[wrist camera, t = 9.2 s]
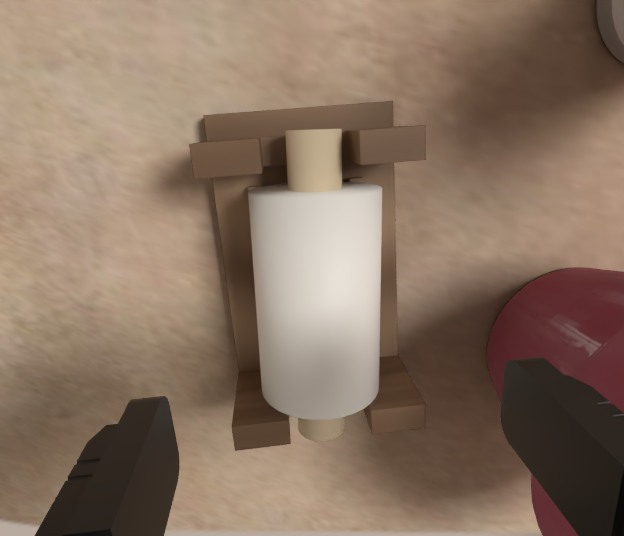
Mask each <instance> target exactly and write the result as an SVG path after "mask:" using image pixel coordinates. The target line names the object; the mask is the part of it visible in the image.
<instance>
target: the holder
mask: <svg viewBox="0 0 624 536" xmlns="http://www.w3.org/2000/svg"><path fill="white" fill-rule="evenodd" d="M203 116H204V124H205V131H206V138H207V142H200V143H193V144H189V147H190V153H191V160H192V167H193V173H194V179H201V178H212V181H213V188H214V196H215V203H216V210H217V217H218V225H219V232H220V239H221V246H222V253H223V261H224V268H225V275H226V282H227V289H228V297H229V304H230V311H231V318H232V325H233V333H234V340H235V347H236V354H237V362H238V369H239V377H238V384H237V391H236V399H235V406H234V413H233V421H232V433H233V439H234V446H235V451H236V450H244V449H253V448H261V447H269V446H278V445H286V444H291V443H290V426H289V415H287V414H284V413H282V412H280V411H278V410H276V409H275V408H273V407H272V406H271V405H270V404H269V403H268V402H267V401H266V400H265V398H264V396H263V394H262V384H261V370H260V356H259V342H258V327H257V313H256V299H255V284H254V270H253V256H252V241H251V227H250V213H249V199H248V191H249V190H251V189H253V188H257V187H261V186H267V185H274V184H283V183H288V179H287V156H286V134H285V130H314V129H342V182H360V183H369V184H375V185H379V186H381V187H382V237H381V297H380V356H379V391H378V394H377V396H376V398H375V399H374V400H373V402H372V403H371V404H369V405H368V406H367V407H366V408H364V411H365V414H366V417H367V420H368V423H369V426H370V429H371V432H372V434H378V433H386V432H394V431H403V430H411V429H420V428H426V404H425V403H424V401H423V399H422V397H421V395H420V394H419V392H418V390H417V388H416V387H415V385H414V383H413V381H412V379H411V378H410V376H409V374H408V372H407V371H406V369H405V367H404V365H403V363H402V362H401V360H400V358H399V356H398V334H397V285H396V236H395V186H394V162H404V161H416V160H426V125H424V126H399V127H393V101H386V102H373V103H360V104H347V105H333V106H320V107H307V108H294V109H280V110H267V111H254V112H241V113H227V114H214V115H203Z"/></svg>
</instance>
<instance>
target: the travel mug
mask: <svg viewBox="0 0 624 536" xmlns="http://www.w3.org/2000/svg"><path fill="white" fill-rule="evenodd" d="M597 21H598V26H599V31H600V34H601V36H602V38H603V41H604V43H605V45H606V46H607V47H608V49H609V50H610V52H611V53H612V54H613V55H614V56H615V57H616V58H617V59H618V60H620V61H621V62H622V63H624V0H597Z"/></svg>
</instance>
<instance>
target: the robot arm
mask: <svg viewBox="0 0 624 536" xmlns="http://www.w3.org/2000/svg"><path fill="white" fill-rule="evenodd" d="M501 422H502V427H503V431H504V434H505V436H506V438H507V440H508V442H509V443H510V445H511V446H512V447H513V449H514V450H515V451H516V453H517V454H518V455H519V457H520V458H521V459H522V461H523V462H524V463H525V465H526V466H527V467H528V469H529V470H530V472H531V473H532V474H533V476H534V477H535V478H536V480H537V481H538V482H539V484H540V485H541V486H542V488H543V489H544V490H545V492H546V493H547V494H548V496H549V497H550V498H551V500H552V501H553V502H554V504H555V505H556V506H557V508H558V509H559V510H560V512H561V513H562V514H563V516H564V517H565V518H566V520H567V521H568V522H569V524H570V525H571V526H572V528H573V529H574V530H575V532H576V533H577V534H578V536H624V413H623V412H622V411H621V410H620V409H618V408H617V407H616V406H615V405H614V404H610V402H609V400H608V399H606V398H605V397H604V396H603V395H601V394H600V393H599V392H598V391H597V390H595V389H594V388H593V387H592V386H590V385H587V384H585V383H583V382H581V381H579V380H577V379H575V378H573V377H571V376H569V375H566V376H565V375H564V374H562V373H561V372H560V371H559V370H558V369H557V368H555V367H554V366H553V365H552V364H551V363H550V362H548V361H547V360H546V359H545V358H543V357H533V358H524V359H514V360H509V361H508V362H507V363H506V365H505V370H504V383H503V395H502V408H501ZM178 476H179V452H178V447H177V442H176V436H175V431H174V426H173V421H172V416H171V411H170V405H169V402H168V399H167V397H165V396H161V397H151V398H142V399H133V400H131V401H130V402H129V403H128V405H127V407H126V409H125V411H124V413H123V415H122V417H121V419H120V421H119V423H118V424H113V425H106V426H105V427H104V428H103V429H102V430H101V431H100V432H98V433H97V434H96V435H95V436H94V437H93V438H92V439H91V440H90V441H89V442H88V443H87V444H86V446H85V448H84V450H83V451H82V453H81V455H80V457H79V458H78V460H77V465H75V466H74V467H73V469H72V471H71V473H70V474H69V476H68V481H65V483H64V485H63V487H62V488H61V490H60V492H59V494H58V496H57V497H56V499H55V501H54V503H53V504H52V506H51V508H50V510H49V511H48V513H47V515H46V517H45V518H44V520H43V522H42V524H41V525H40V527H39V529H38V531H37V533H36V535H35V536H164V533H165V529H166V525H167V521H168V517H169V513H170V509H171V505H172V501H173V498H174V494H175V490H176V486H177V482H178Z"/></svg>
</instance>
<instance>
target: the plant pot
mask: <svg viewBox="0 0 624 536" xmlns="http://www.w3.org/2000/svg"><path fill="white" fill-rule="evenodd" d="M533 357H543V358H545V359H546V360H547V361H548V362H550V363H551V364H552V365H553V366H554V367H555V368H557V369H558V370H559V371H560V372H561V373H562V374H564V375H565V376H566V375H569V376H571V377H573V378H575V379H577V380H579V381H581V382H583V383H585V384H587V385H590V386H592V387H593V388H594V389H595V390H597V391H598V392H599V393H600V394H601V395H603V396H604V397H605V398H606V399H608V400H609V402H610V404H614V405H615V406H616V407H617V408H618V409H620V410H621V411H622V412H623V413H624V272H620V271H610V270H601V269H593V268H567V269H561V270H557V271H554V272H551V273H548V274H546V275H544V276H541V277H539V278H537V279H536V280H534V281H532V282H530V283H529V284H527V285H526V286H525V287H523V288H522V289H521V290H520V291H519V292H517V293H516V294H515V295H514V296H513V297H512V298H511V299H510V300H509V301H508V303H507V304H506V305H505V306H504V308H503V309H502V310H501V312H500V313H499V315H498V317H497V319H496V321H495V323H494V325H493V327H492V330H491V333H490V336H489V341H488V346H487V365H488V370H489V374H490V377H491V380H492V382H493V384H494V386H495V389H496V391H497V393H498V395H499V398H500V400H501V402H502V395H503V383H504V370H505V365H506V363H507V362H508V361H509V360H514V359H524V358H533ZM531 492H532V503H533V507H534V512H535V515H536V519H537V522H538V526H539V528H540V531H541V533H542V535H543V536H578V534H577V533H576V532H575V530H574V529H573V528H572V526H571V525H570V524H569V522H568V521H567V520H566V518H565V517H564V516H563V514H562V513H561V512H560V510H559V509H558V508H557V506H556V505H555V504H554V502H553V501H552V500H551V498H550V497H549V496H548V494H547V493H546V492H545V490H544V489H543V488H542V486H541V485H540V484H539V482H538V481H537V480H536V478H535V477H534V476H533V474H532V476H531Z"/></svg>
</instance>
